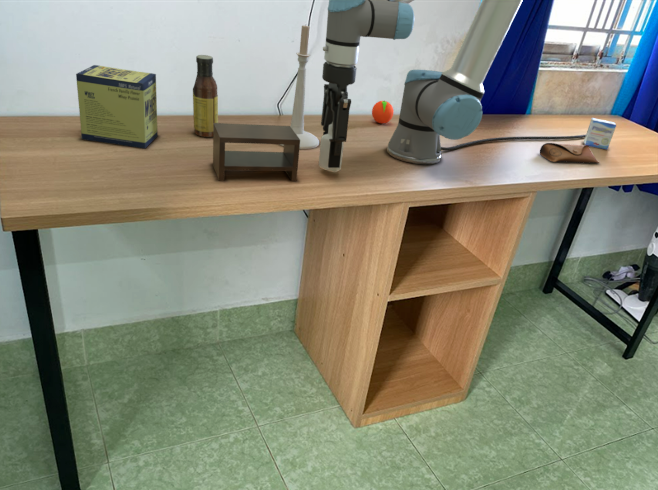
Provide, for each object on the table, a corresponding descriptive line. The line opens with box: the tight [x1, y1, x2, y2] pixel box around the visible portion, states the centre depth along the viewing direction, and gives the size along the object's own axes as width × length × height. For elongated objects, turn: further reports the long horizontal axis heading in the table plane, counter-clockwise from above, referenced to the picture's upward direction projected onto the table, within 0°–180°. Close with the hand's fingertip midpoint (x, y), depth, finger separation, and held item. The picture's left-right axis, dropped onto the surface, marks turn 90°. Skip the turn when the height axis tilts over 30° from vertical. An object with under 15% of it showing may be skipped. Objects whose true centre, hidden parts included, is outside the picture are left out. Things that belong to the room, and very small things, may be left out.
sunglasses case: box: [539, 142, 600, 165], centre depth 192 cm, size 18×7×7 cm
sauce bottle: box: [192, 54, 219, 138], centre depth 158 cm, size 6×6×20 cm
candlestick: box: [278, 25, 320, 150], centre depth 162 cm, size 13×13×30 cm
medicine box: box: [583, 117, 617, 151], centre depth 209 cm, size 8×4×9 cm, turn 76°
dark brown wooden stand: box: [212, 122, 300, 182], centre depth 143 cm, size 18×10×10 cm, turn 109°
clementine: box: [371, 100, 395, 125], centre depth 195 cm, size 8×7×7 cm
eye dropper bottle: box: [318, 122, 345, 173], centre depth 148 cm, size 4×6×12 cm
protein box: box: [75, 64, 159, 149], centre depth 148 cm, size 10×16×16 cm
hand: (330, 162), depth 150 cm, fingers closed on eye dropper bottle, 5 cm apart
